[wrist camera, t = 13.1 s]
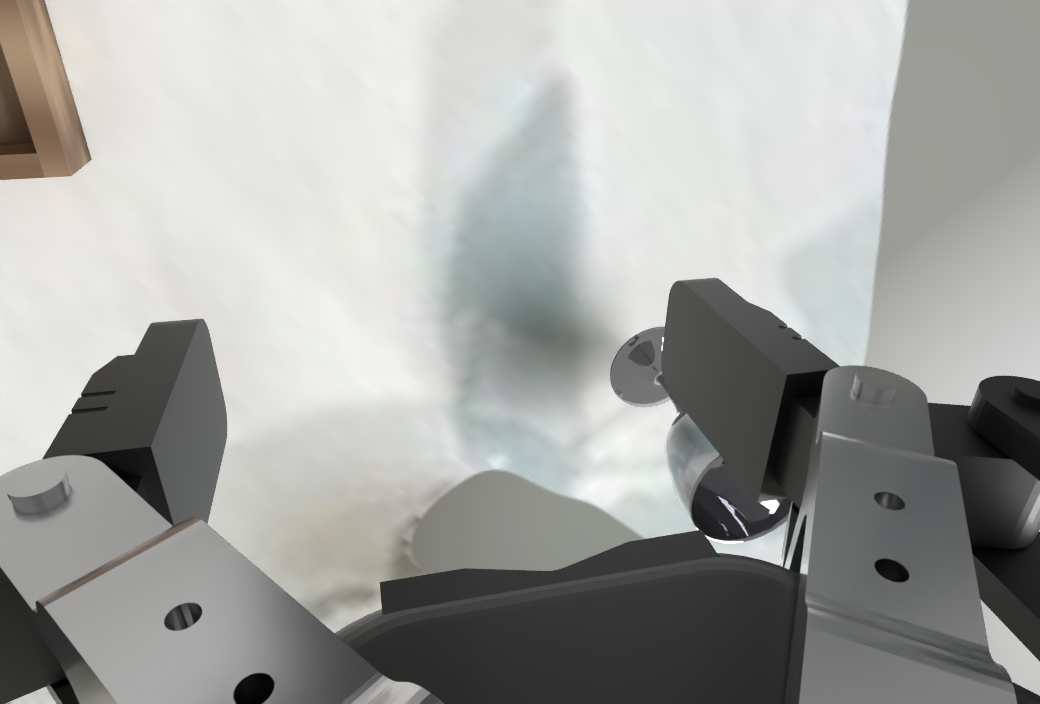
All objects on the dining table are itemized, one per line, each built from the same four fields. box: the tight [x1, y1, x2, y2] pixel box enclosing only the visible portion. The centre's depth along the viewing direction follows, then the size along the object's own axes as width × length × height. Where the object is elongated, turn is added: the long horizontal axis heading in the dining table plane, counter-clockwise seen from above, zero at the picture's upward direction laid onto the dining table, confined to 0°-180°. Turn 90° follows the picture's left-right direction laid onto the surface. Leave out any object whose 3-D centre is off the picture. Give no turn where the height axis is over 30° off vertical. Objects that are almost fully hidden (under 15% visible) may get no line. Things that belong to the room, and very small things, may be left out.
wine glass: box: [611, 327, 792, 543], centre depth 48 cm, size 8×8×15 cm
